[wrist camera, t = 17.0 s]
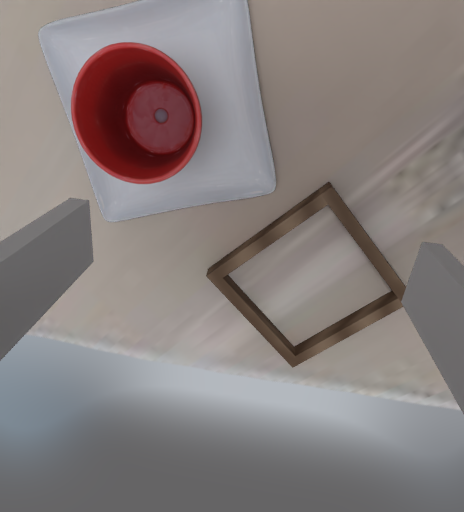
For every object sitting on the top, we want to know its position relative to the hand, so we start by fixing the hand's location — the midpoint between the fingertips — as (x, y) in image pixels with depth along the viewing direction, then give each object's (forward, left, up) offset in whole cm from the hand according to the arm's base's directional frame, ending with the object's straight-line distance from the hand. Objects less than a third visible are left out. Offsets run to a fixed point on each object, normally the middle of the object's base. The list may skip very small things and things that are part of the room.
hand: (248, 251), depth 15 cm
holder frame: (+6, +19, -31) cm, 37 cm away
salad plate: (+6, -8, -32) cm, 33 cm away
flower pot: (+6, -8, -28) cm, 30 cm away
